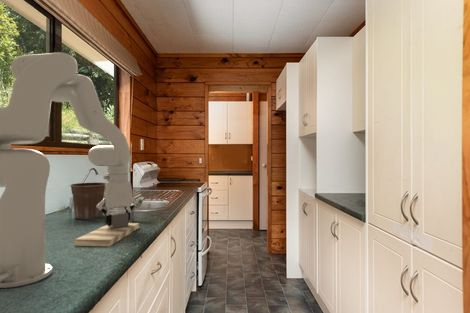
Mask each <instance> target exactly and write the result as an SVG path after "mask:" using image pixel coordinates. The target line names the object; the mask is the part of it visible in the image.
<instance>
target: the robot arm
mask: <svg viewBox="0 0 470 313" xmlns="http://www.w3.org/2000/svg"><path fill="white" fill-rule="evenodd" d="M10 69H11V73H12V76H13V77H14V78H15V81H14V82H13V85H12V90H11V93H10V99H9V102H8V105H7V106H0V188H4V190H3V191H2V192H3V193H2V194H1V196H0V288H1V289H2V288H4V289H5V288H6V289H7V288H8V289H9V288H14V287H15V288H16V287H21V286H26V285H30V284H33V283H37V282H39V281H41V280H44V279H45V278H47V277H49V276H50V275H51V274H52V273H53V265H51V264H50V263H46V195H47V194H46V192H47V191H46V190H47V185H48V181H49V176H50V171H51V170H50V169H51V165H50V161H49V159H48V158H47V156H46V155H45V154H44V153H42V152H40V151H39V150H35V149H31V148H11V146H12V145H29V144H30V145H33V144H39V143H40V142H42V141H44V140H45V139H46V136H47V133H48V130H49V129H48V128H49V122H50V116H51V115H50V114H51V106H52V102H55V103H68V102H69V103H70V107H71V108H72V111H73V112H74V115H75V118H76V120H77V122H78V124H79V126H80V127H81V128H83V129H85V130H88V131H90V132H92V133H93V134H96V135H99V136H101V137H104V139H106V140H107V141H109V142H110V143H111V144H110V145H108V144H107V145H95V146H93V147H92V148H90V149H89V151H88V153H87V157H88V161H89V162H90V164H93V165H94V166H97V167H107V168H106V169H107V170H106V171H107V173H106V175H103V180H106V182H104V183H105V188H104V197H103V200H102V201H101V202H100V203H99V204H98V205H97V206H96V207H97V208H98V209H99V210H100V211H101V212H103V215H104V221H105V225H108V226H110V225H111V215H110V213H112V212H111V211H112V210H113V209H119V208H124V210H125V212H126V213H128V223H130V213H131V211H132V210H133V208H134V207H135V206H138V204H137V203H138V200H136V198H134V197H133V189H132V188H133V187H132V183H131V181H130V180H129V162H130V160H131V150H130V148H129V144H128V140H127V138H126V135H125V134H124V133H123V132H122V131H121V130H120V128H118V126H116V124H114V123H113V122H112V121H111V120H110V119H108V118H107V117H106V115H105V112H104V110H103V106H102V104H101V102H100V99H99V96H98V92H97V90H96V88H95V85H94V82H93V81H92V79H91V78H90V77H88V76H87V75H84V74H77V73H78V69H79V68H78V62H77V60H76V58H75V57H74V56H72V55H70V54H68V53H66V52H62V51H61V52H60V51H59V52H58V51H57V52H51V53H49V52H47V53H46V52H45V53H37V54H36V53H35V54H23V55H19V56H17V57H15V58H14V59H13V60H12V62H11V64H10ZM102 205H104V206H103V208H102ZM129 206H130V207H129ZM104 207H105V208H104ZM134 209H135V208H134Z"/></svg>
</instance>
